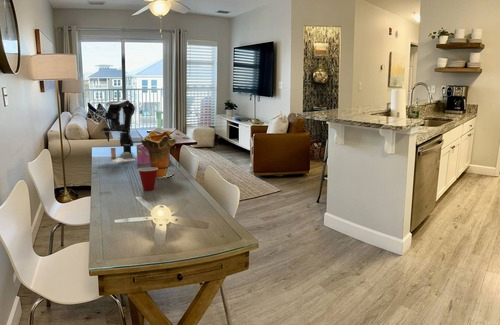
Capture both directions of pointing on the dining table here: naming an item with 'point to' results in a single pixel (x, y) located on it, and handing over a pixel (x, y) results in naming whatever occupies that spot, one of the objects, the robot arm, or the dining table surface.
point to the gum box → (144, 155)
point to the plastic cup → (148, 177)
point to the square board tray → (124, 158)
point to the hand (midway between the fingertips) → (114, 141)
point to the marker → (113, 153)
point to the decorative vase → (159, 151)
